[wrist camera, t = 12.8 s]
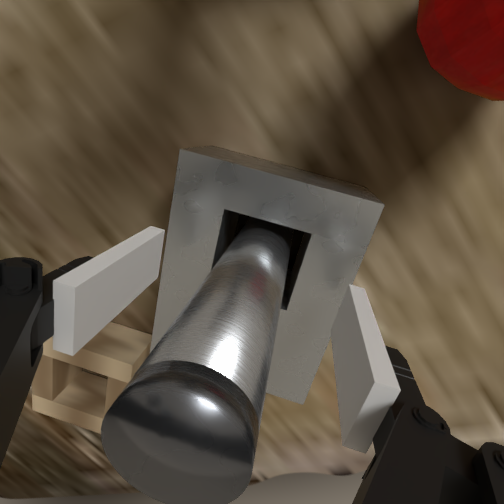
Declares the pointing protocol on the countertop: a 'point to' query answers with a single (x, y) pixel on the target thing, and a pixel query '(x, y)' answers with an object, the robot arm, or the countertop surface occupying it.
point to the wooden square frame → (88, 376)
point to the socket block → (280, 212)
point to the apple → (465, 43)
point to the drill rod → (205, 380)
